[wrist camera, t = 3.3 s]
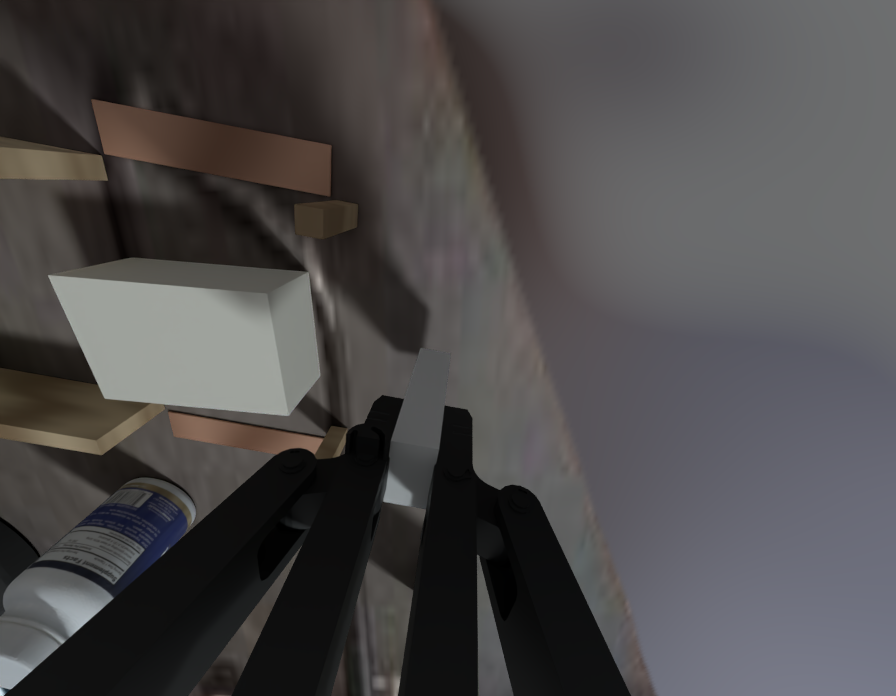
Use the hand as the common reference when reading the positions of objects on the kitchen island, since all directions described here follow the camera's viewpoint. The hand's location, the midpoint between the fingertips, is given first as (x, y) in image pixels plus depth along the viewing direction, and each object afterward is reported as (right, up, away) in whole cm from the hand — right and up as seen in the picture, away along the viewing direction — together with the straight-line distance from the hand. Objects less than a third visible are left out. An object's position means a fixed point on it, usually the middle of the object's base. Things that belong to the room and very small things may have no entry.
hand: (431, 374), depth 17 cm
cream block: (-11, +3, +2) cm, 11 cm away
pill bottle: (-20, -10, +9) cm, 24 cm away
